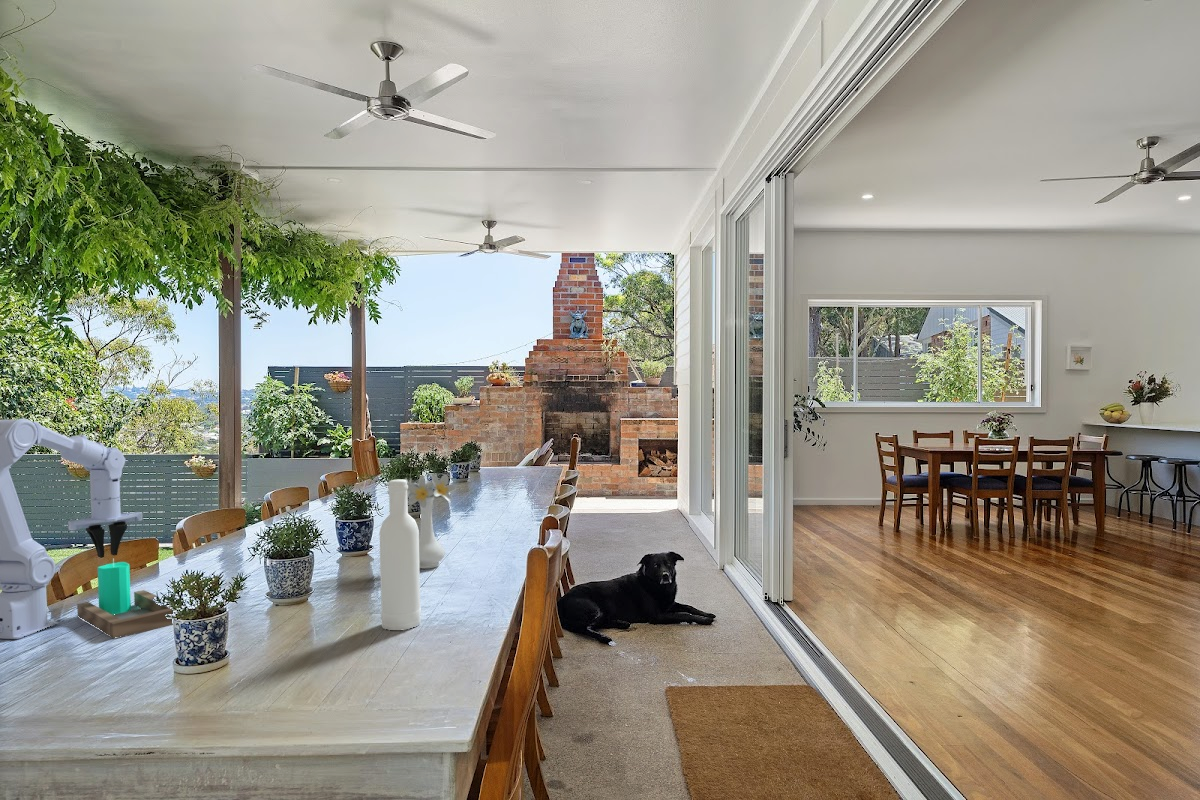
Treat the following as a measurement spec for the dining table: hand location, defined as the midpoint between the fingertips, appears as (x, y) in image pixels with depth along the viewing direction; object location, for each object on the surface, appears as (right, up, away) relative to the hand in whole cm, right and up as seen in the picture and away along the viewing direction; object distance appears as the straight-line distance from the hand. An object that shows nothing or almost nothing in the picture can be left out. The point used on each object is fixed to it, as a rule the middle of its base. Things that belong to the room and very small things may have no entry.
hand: (107, 555), depth 172 cm
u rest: (+15, -11, -15) cm, 23 cm away
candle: (+8, -11, -9) cm, 16 cm away
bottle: (+75, -10, -21) cm, 78 cm away
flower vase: (+68, -9, +27) cm, 74 cm away
